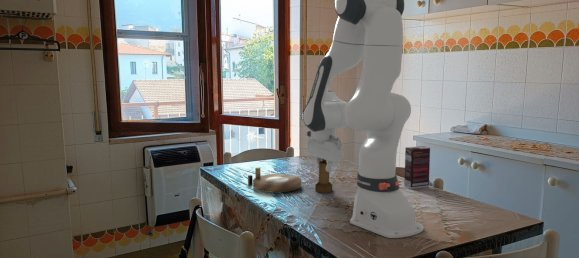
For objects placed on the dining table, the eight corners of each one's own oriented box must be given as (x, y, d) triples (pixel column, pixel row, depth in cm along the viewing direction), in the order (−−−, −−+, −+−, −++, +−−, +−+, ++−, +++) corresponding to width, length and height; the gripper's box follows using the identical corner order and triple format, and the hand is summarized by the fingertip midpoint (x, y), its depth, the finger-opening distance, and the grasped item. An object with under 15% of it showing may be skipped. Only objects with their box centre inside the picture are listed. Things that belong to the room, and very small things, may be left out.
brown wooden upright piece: (331, 193, 155) (332, 146, 152) (314, 192, 156) (314, 145, 153) (333, 188, 161) (333, 143, 159) (316, 187, 162) (316, 142, 160)
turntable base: (298, 189, 160) (298, 179, 160) (263, 194, 153) (263, 184, 153) (280, 180, 173) (280, 171, 172) (248, 184, 166) (247, 175, 166)
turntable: (308, 181, 167) (308, 167, 167) (290, 194, 150) (290, 178, 149) (266, 176, 175) (266, 163, 174) (244, 188, 157) (243, 173, 157)
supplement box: (421, 184, 167) (423, 145, 165) (429, 187, 163) (431, 147, 160) (403, 186, 164) (404, 147, 162) (410, 189, 160) (412, 149, 157)
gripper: (347, 137, 148) (346, 174, 150) (317, 130, 166) (317, 163, 168) (332, 138, 145) (332, 177, 147) (303, 131, 163) (303, 165, 165)
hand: (324, 169), depth 157 cm, fingers closed on brown wooden upright piece, 4 cm apart
